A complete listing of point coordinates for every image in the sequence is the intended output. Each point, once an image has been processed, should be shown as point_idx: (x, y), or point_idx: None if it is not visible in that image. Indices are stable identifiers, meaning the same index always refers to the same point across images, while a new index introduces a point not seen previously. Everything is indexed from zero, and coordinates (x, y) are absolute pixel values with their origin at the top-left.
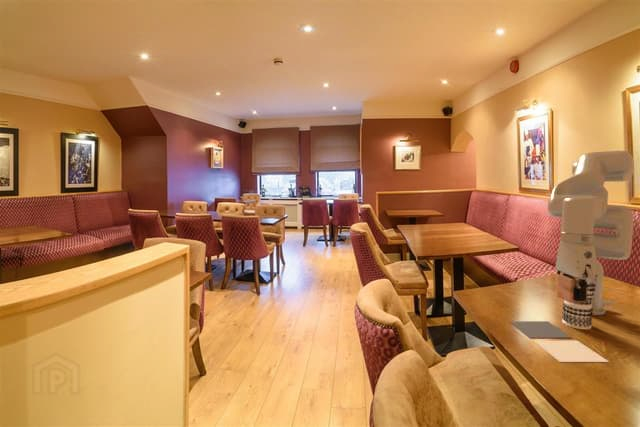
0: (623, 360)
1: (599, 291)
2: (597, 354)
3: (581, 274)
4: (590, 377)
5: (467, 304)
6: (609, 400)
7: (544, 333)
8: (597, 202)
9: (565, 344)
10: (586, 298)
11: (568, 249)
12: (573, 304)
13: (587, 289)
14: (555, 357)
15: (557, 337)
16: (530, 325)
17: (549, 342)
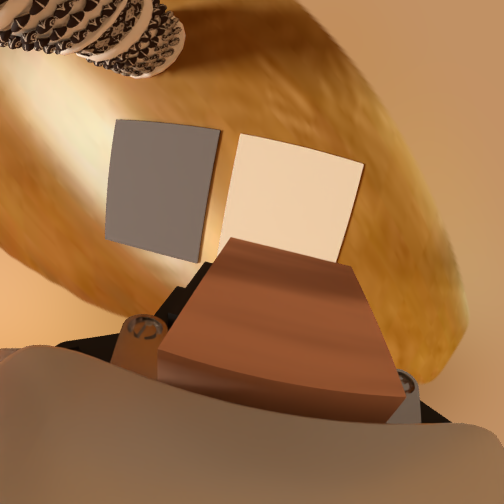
0: (364, 113)
1: None
2: (326, 155)
3: None
4: (391, 280)
5: (29, 264)
6: (439, 313)
7: (180, 197)
8: None
9: (254, 194)
10: (356, 282)
11: None
12: (117, 49)
13: (375, 321)
14: None
15: (210, 178)
16: (130, 197)
17: (233, 232)
